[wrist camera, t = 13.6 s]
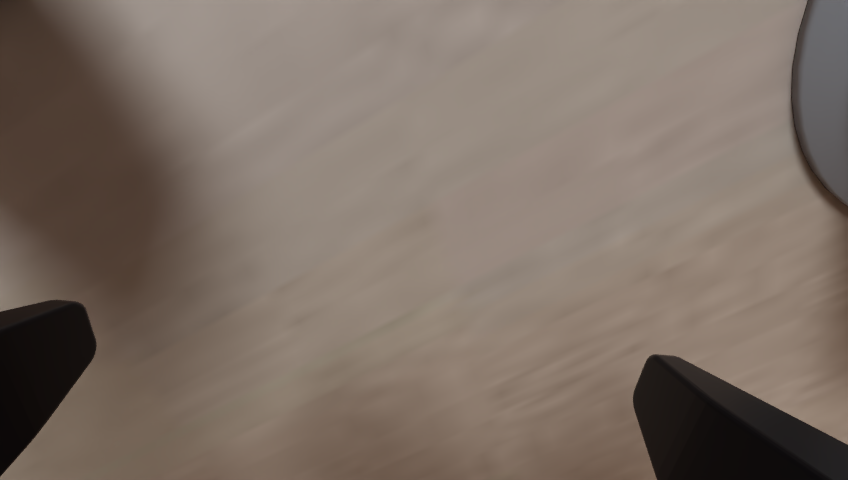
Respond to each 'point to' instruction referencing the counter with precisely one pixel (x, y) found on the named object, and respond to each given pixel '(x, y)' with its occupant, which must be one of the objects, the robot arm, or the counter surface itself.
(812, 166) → the dial base
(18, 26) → the counter surface
